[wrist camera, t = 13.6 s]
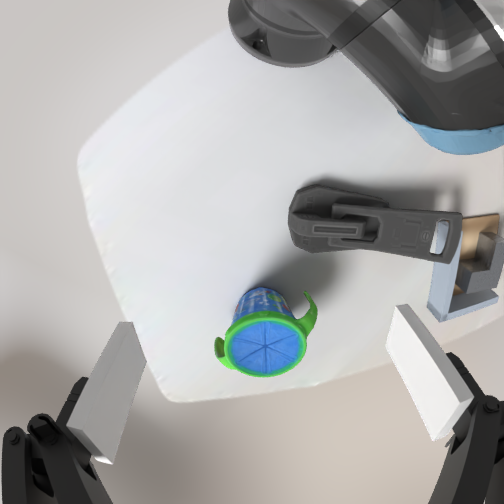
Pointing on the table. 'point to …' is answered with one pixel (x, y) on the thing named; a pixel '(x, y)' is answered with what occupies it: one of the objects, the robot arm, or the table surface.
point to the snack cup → (265, 335)
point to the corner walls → (444, 282)
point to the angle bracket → (482, 265)
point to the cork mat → (474, 237)
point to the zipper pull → (366, 225)
